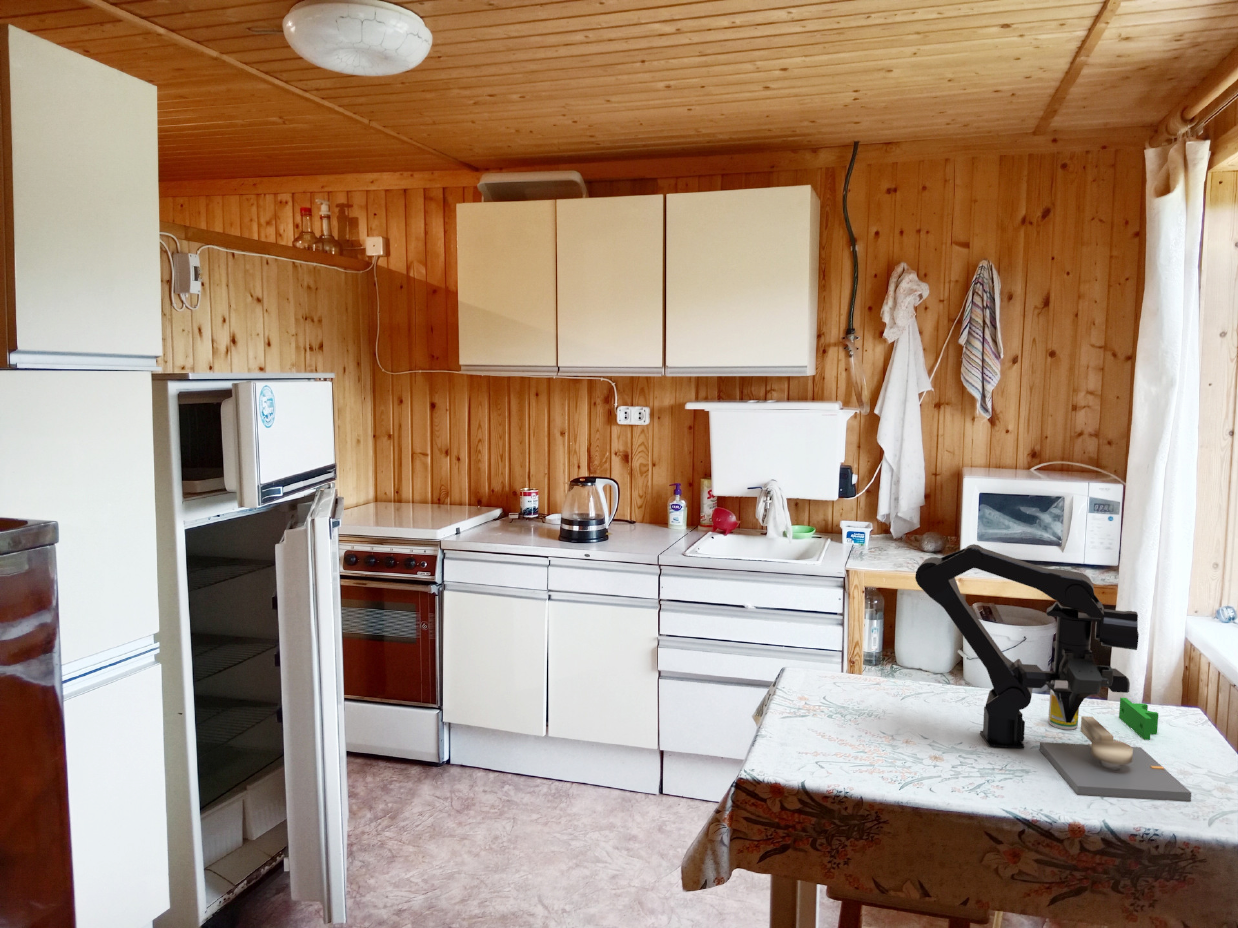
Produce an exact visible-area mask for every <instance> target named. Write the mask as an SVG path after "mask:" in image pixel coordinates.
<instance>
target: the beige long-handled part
mask: <svg viewBox="0 0 1238 928" xmlns="http://www.w3.org/2000/svg"><path fill="white" fill-rule="evenodd" d="M1080 732H1081V733H1082V734H1083V736H1085V738H1086V739H1088V741H1090V743H1091V744H1092V746H1091V754H1092V756H1094V757H1095V758H1097V759H1099V760H1101V761H1104V762H1107V763H1112V764H1121V765H1123V764H1129V763H1131V762H1132V756H1133V748H1132V747H1133V746H1131V744H1130V745H1129V743H1126V742H1124V741H1120V740H1116V739H1114V735H1113V734H1112V733H1111V732H1110V731H1109V730H1108V729H1107V728H1105V726H1103V725H1102V724H1101V723H1100V722H1099V721H1098V720H1097V719H1096V718H1095V717H1094V716H1085V715H1083V716H1082V715H1081V720H1080Z"/></svg>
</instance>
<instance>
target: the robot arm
mask: <svg viewBox="0 0 1238 928" xmlns="http://www.w3.org/2000/svg"><path fill="white" fill-rule="evenodd" d="M973 569H976V570H980V571H983V572H986V573H989V574H992V575H995V576H998V577H1000V578H1003V579H1006V580H1008V581H1012V582H1015V583H1019V584H1021V585H1024V586H1027V587H1031V588H1033V589H1035V590H1038V591H1040V592H1042V593H1043V594H1045V595H1047V596H1048V597H1049V598H1051V599H1052V600H1054V601H1055V602H1054V604H1053V605H1051V606H1050V607H1047V609H1046V615H1047V617H1054V618H1056V631H1055V632H1056V633H1055V641H1054V640H1053V643H1052V647H1053V648H1054V659H1053V660H1054V661H1053V662H1051V668H1052V669H1053V671H1052V670H1043V669H1041V667H1039V666H1038V665H1037V664H1024V663H1022V661H1021V659H1020V658H1017V659H1016V660H1015V661H1012V660H1011V659H1010V658H1008V657H1007V656H1006V655H1005V654H1004V653H1003V652H1002V650H1001V649H1000V648H999V646H998V644H997V642H995V640H994V639H993V638H992V636H991V635H990V634H989V632H988V631H987V629H986V628H985V626H984V625H983V623H982V622H981V621H980V619H979V618H978V616H977V615H976V613H974V612H975V611H973V610H972V608H971V606H970V605H969V604H968V603H967V601H966V600H965V598H964V597H963V595H962V593H961V591H960V587H959V585H958V583H957V580H956V577H959V576H960V575H963V574H964V573H966V572H968V571H970V570H973ZM915 581H916V584H917V585H918V587H919V588H921V590H923V592H925V594H926V595H927V596H929V598H930V599H932V600H933V601H934V602H935V603H937V604H938V605H940V606H941V607H942V608H943V609H944V611H945V612H946V613H947V614H948V617H950V619H951V621H952V622H953V623H954V625H955V626H956V627H957V629H958V631H959V632H960V634H961V635H962V636H963V638H964V639H965V641H966V642H967V643H968V645H969V646H970V647H971V649H972V650H973V653H975V654H976V657H978V660H979V661H981V663H982V665H983V666H984V668H985V670H986V671H987V674H988V676H989V679H990V682H991V684H992V687H993V688H992V689H991V690H989V691H988V695H987V699H986V702H985V705H984V706H983V722H982V723H983V725H982V730H980V731H979V734H980V736H981V738H983V740H984V741H985V743H986V745H988V747H991V748H992V747H994V748H1009V749H1010V748H1012V749H1013V748H1014V749H1024V748H1025V745H1024V741H1025V728H1026V726H1025V725H1026V721H1025V720H1024V719H1023V716H1024V715H1023V713H1022V712H1021V711H1022V710H1024V709H1026V708H1027V707H1028V706H1029V704H1030V703H1031V700H1032V695H1033V689H1043V687H1045V686H1047V688H1049V689H1050V690H1052V691H1053V692H1054V694H1055V696H1056V698H1057V701H1058V704H1059V707H1060V710H1061V713H1062V715H1063V718H1064V721H1065V722H1066V723H1071V722H1072V720H1073V718H1074V716H1075V714H1076V712H1077V710H1078V708H1079V709H1080V706H1081V704H1082V703H1083V701H1084V700H1085V699H1086V698H1088V697H1090V696H1095V695H1098V694H1100V692H1101V688H1108V689H1109V690H1110V691H1111V692H1112V693H1130V689H1131V688H1130V685H1131V683H1130V679H1129V678H1128V677H1127V676H1126V675H1125V674H1123V672H1121V671H1120V670H1118V669H1117V668H1116V667H1115V668H1113V667H1111V666H1110V665H1099V664H1098V665H1097V664H1095V662H1094V653H1093V651H1092V650H1091V642H1092V641H1091V639H1092V626H1093V625H1092V624H1093V622H1095V629H1094V639H1095V640H1098V642H1099V643H1101V644H1100V645H1101V646H1103V647H1104V646H1105V647H1110V648H1111V647H1112V648H1118V649H1126V650H1134V651H1137V650H1138V645H1139V636H1140V634H1139V630H1138V628H1139V627H1138V621H1139V619H1138V618H1139V615H1138V612H1137V611H1136V610H1135V611H1132V610H1117V609H1105V608H1104V605H1103V604H1102V603H1103V602H1102V601H1100V599H1099V598H1098V597H1097V596H1096V594H1095V587H1094V582H1093V581H1092V579H1091V578H1090V577H1089V576H1088V575H1087V574H1085V573H1083V572H1078V571H1075V570H1074V571H1073V570H1067V569H1061V568H1060V569H1059V568H1049V567H1048V568H1047V567H1042V566H1040V565H1036V564H1033V563H1029V562H1027V561H1024V560H1021V559H1017V558H1015V557H1012V556H1008V555H1007V554H1006V555H1005V554H1003V553H1000V552H996V551H993V550H990V549H987V548H984V547H982V546H980V545H979V544H975V543H974V544H969V545H967V546H966V547H964V548H962V549H960V550H957V551H954V552H951V553H949V554H947V555H944V556H942V557H937V556H931V557H928V558H926V559H925V560H923V562H921V564H920V565H919V566H918V568H917V569H916V571H915ZM1062 605H1064V606H1062ZM1079 610H1080V611H1082V612H1079Z"/></svg>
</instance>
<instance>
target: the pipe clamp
mask: <svg viewBox="0 0 1238 928" xmlns="http://www.w3.org/2000/svg"><path fill="white" fill-rule="evenodd" d="M1148 708H1149V705H1148V704H1147V703H1138V702H1136V703H1135V702H1134V703H1133V702H1132V701H1131V700H1129V699H1128V697H1120V699H1119V712H1118V719H1120V720H1121V721H1122V722H1123V723H1124V724H1125V725H1126V726H1128V727H1129V728H1130V729H1131V728H1132V729H1133V732H1135V733H1136V734H1137V735H1138V736H1139V737H1140V738H1141V739H1142V740H1144V741H1150V740H1151V735H1156V734H1157V735H1158V725H1159V713H1158V712H1157V711H1151V710H1148ZM1132 729H1131V730H1132Z"/></svg>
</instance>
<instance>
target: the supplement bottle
mask: <svg viewBox="0 0 1238 928" xmlns="http://www.w3.org/2000/svg"><path fill="white" fill-rule="evenodd" d="M1048 704H1049V705H1048V720H1047V721H1048V724H1050V725H1051V726H1052V727H1055V728H1057V729H1060V730H1066V731H1068V730H1075V729H1077V728H1078V725H1079V713H1080V712H1079V711H1080V710H1079V709H1080V707H1079V708H1078V710H1077V712H1076V714H1075V716H1074V718H1073V720H1072V722H1071V723H1066V722H1065V721H1064V718H1063V715H1062V713H1061V710H1060V707H1059V704H1058V701H1057V698H1056V696H1055V694H1054V692H1053V691H1052V690H1051V689H1050V690H1049V703H1048Z"/></svg>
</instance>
